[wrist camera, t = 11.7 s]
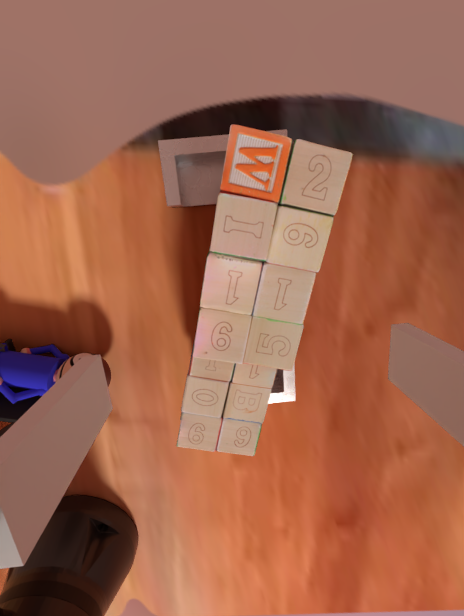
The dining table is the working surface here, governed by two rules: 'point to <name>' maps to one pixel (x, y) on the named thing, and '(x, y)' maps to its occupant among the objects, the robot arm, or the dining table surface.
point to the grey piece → (283, 386)
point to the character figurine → (31, 376)
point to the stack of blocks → (257, 282)
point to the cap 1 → (194, 168)
